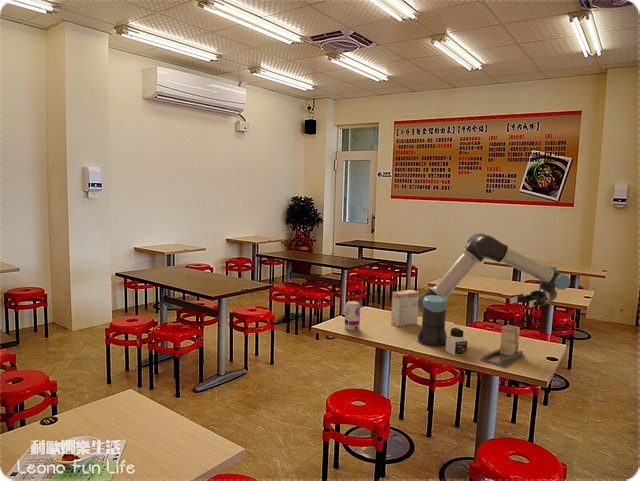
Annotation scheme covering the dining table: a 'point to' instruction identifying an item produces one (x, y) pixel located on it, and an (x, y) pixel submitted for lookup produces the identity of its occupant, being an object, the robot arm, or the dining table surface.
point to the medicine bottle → (456, 342)
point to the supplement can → (352, 315)
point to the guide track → (502, 358)
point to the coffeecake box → (404, 307)
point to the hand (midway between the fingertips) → (520, 302)
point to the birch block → (509, 340)
